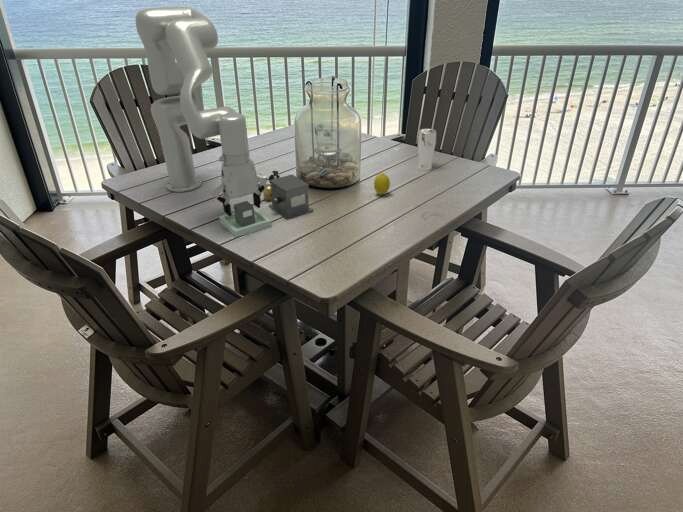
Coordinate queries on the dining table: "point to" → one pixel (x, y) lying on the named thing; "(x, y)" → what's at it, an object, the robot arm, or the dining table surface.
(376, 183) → the lemon
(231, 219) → the tray
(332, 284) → the dining table surface
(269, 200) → the cylinder
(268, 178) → the valve
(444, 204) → the dining table surface
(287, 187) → the box
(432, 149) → the beer glass
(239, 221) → the block
